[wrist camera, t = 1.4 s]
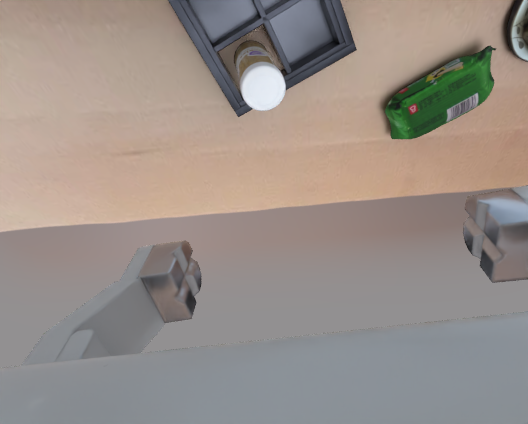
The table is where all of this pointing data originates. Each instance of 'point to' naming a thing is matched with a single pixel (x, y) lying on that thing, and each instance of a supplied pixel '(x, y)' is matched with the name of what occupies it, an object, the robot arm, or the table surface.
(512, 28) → the avocado toast plate
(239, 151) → the table surface
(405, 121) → the snack package
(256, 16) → the black divided tray
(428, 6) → the table surface
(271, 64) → the sprinkles bottle
